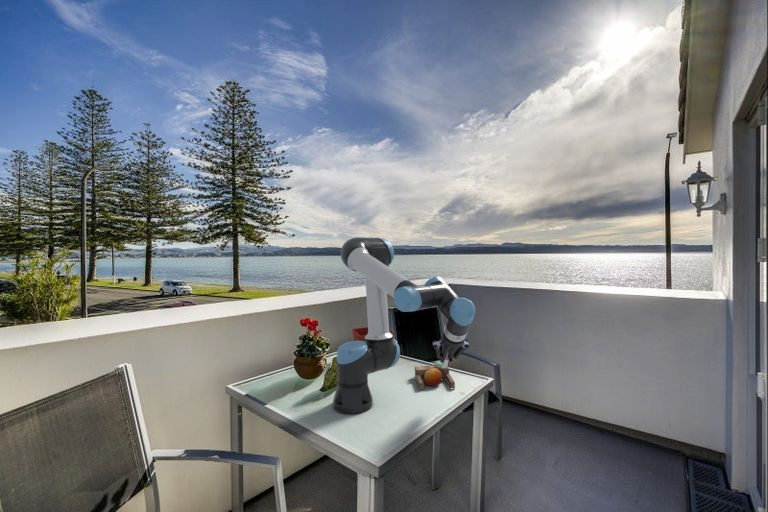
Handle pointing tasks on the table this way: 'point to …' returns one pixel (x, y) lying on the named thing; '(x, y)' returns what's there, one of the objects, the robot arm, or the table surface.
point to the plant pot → (363, 333)
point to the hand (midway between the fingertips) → (443, 364)
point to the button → (439, 365)
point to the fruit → (433, 377)
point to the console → (423, 369)
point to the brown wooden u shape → (448, 378)
